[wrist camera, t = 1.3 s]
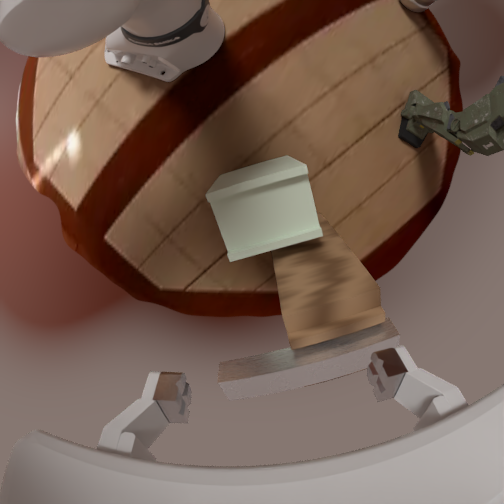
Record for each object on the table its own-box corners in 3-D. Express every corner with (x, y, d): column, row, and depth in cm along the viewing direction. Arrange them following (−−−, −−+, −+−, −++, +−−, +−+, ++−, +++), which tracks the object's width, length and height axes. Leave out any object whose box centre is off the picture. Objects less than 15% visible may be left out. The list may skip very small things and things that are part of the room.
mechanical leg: (417, 167, 43) (548, 160, 14) (389, 151, 42) (526, 126, 13) (426, 109, 41) (537, 76, 11) (400, 92, 40) (511, 41, 10)
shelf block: (235, 222, 49) (229, 262, 34) (219, 175, 45) (205, 194, 30) (300, 203, 47) (323, 236, 33) (287, 155, 44) (306, 164, 29)
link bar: (230, 380, 29) (229, 400, 27) (219, 362, 28) (217, 382, 25) (388, 339, 27) (397, 356, 24) (388, 317, 26) (399, 334, 23)
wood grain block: (283, 282, 54) (305, 394, 29) (266, 227, 49) (283, 324, 24) (331, 268, 53) (383, 370, 28) (319, 212, 48) (384, 294, 23)
